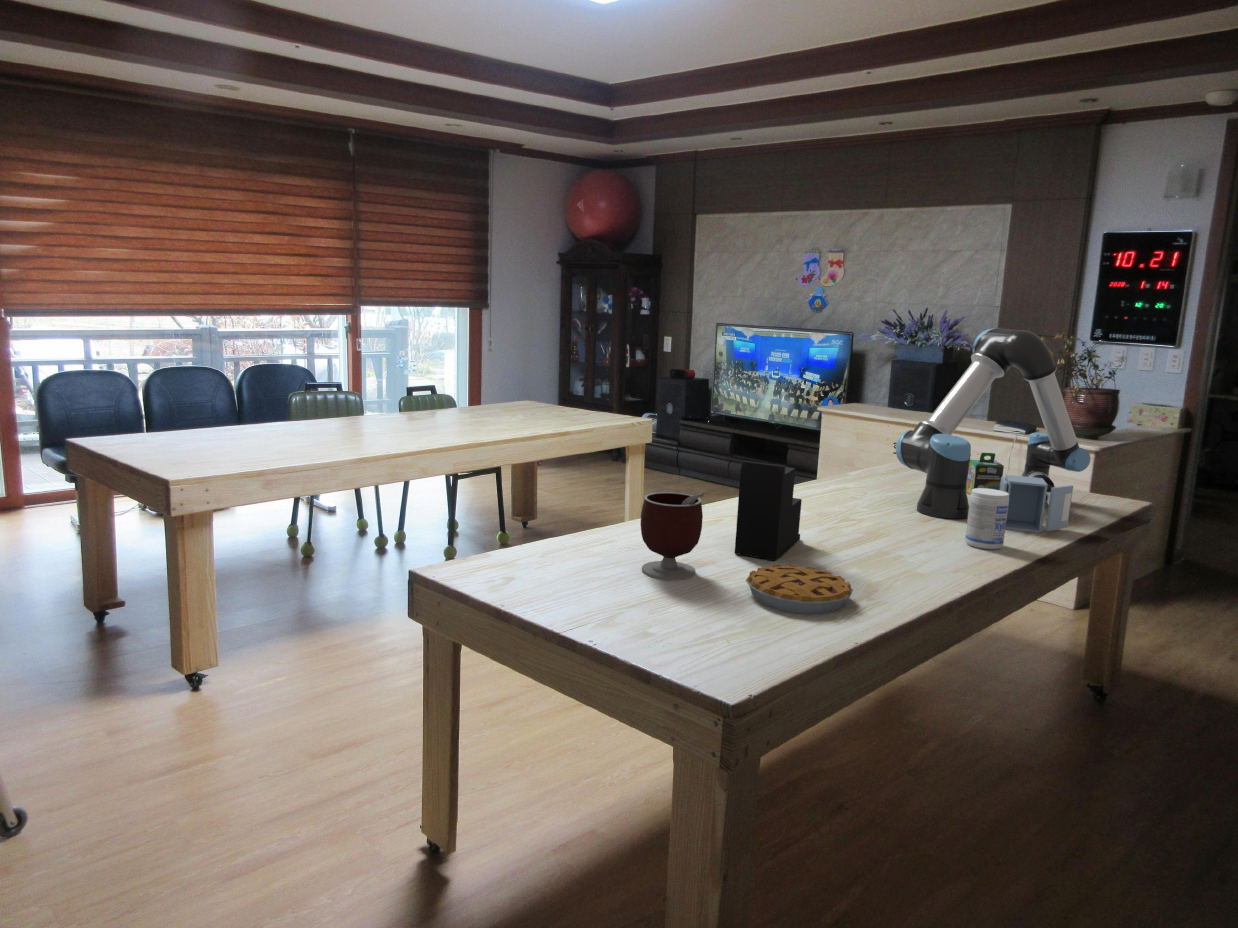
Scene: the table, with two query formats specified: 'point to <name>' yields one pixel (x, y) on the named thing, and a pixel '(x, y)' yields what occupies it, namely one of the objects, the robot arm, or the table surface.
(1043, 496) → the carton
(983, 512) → the supplement tub
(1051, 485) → the robot arm
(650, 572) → the mate gourd
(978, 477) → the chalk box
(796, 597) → the pie
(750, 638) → the table surface
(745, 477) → the black stepped block
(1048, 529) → the right flap
